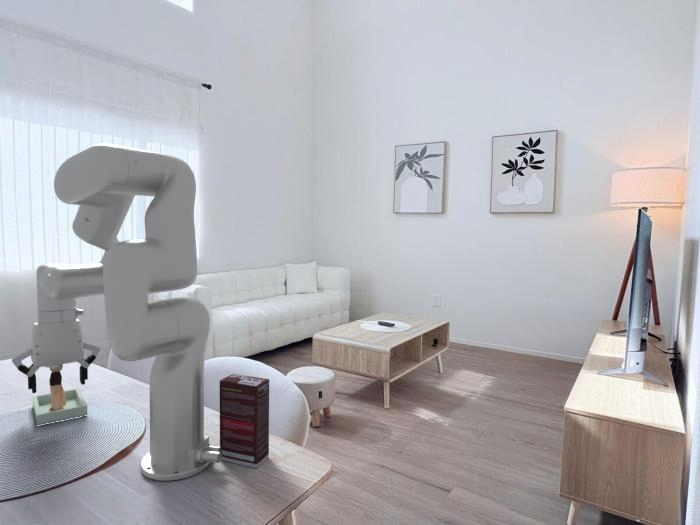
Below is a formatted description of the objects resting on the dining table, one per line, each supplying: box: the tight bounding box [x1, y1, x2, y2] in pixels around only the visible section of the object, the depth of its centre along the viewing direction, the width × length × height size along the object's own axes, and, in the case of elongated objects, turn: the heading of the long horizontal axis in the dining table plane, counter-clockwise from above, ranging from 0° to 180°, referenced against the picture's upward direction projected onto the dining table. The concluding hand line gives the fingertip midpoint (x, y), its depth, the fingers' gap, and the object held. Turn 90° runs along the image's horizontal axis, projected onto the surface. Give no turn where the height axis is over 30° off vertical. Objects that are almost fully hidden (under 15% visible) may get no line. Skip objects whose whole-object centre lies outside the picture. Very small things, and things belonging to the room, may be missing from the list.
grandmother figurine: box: [45, 364, 66, 411], centre depth 103 cm, size 8×4×13 cm, turn 52°
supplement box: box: [219, 373, 270, 469], centre depth 85 cm, size 9×5×16 cm, turn 70°
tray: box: [32, 387, 88, 426], centre depth 104 cm, size 14×10×3 cm
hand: (58, 387), depth 104 cm, fingers open, 9 cm apart
